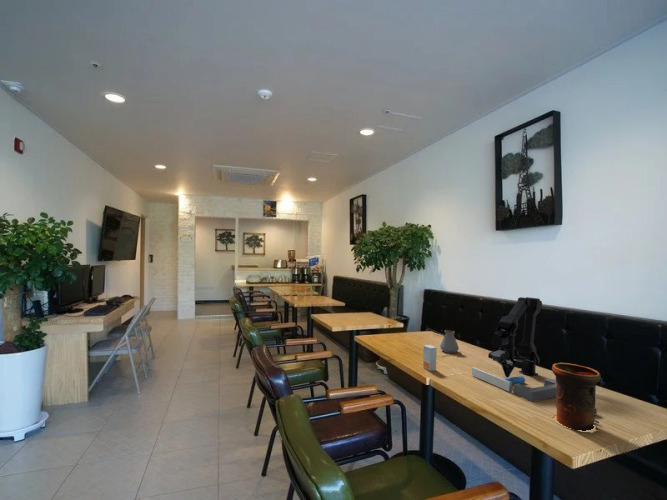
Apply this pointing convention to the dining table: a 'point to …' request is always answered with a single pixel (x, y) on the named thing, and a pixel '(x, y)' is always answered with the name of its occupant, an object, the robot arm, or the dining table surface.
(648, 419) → the dining table surface
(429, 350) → the skincare box
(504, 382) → the light grey flat bar
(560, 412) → the vessel
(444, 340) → the coffee pot
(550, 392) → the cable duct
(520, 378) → the blue capsule rod
